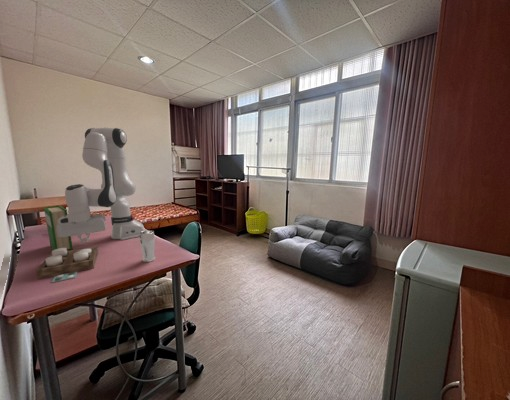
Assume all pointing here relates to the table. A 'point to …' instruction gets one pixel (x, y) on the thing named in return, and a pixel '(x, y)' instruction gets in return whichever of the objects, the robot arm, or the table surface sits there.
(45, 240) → the table surface
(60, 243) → the hardback book
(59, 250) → the button
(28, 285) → the table surface
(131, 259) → the table surface
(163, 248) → the table surface
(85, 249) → the button
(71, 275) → the card
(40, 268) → the wooden compartment tray
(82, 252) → the button
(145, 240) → the beer glass
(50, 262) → the button
